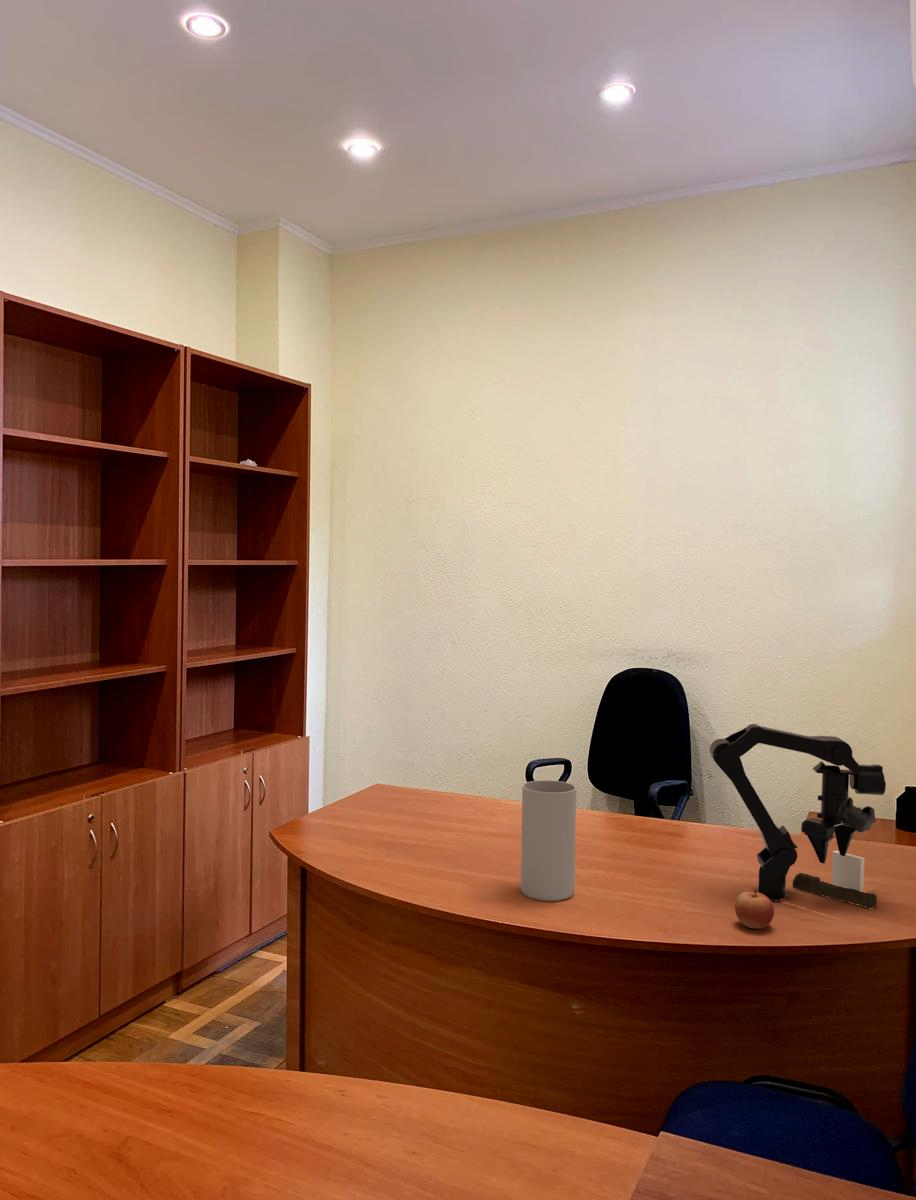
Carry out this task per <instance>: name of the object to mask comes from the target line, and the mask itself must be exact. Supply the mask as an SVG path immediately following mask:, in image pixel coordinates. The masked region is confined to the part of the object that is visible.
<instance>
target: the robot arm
mask: <svg viewBox="0 0 916 1200" xmlns="http://www.w3.org/2000/svg"><path fill="white" fill-rule="evenodd" d="M758 744H762V745H767V746H770V747H774V748H775V747H776V748H779V749H780V748H781V749H786V750H789V751H795V752H799V753H804V754H808V755H811V756H813V757H815V758H817V759H820V760H821V761H819V762H818V763H817V764H816V765H815V766H813V767H812V770H813V771H814V772H815V773H816V774H821V794H820V795H819V794H818V795H817V801H821V804H820V806H821V807H820V812H817V814H816V817H811V818H807V819H805V820H804V821H802V822H801V828H800V831H801V832H802V833H804V835H805V836H807V839H808V840H809V842H810V844H811V846H812V848H813V851H814V852H815V855H816V858H817V859H818V861H819V863H820V864H823V865H824V864H826V860H827V857H828V856H827V855H828V849H829V848H828V847H829V843H830V842H831V841H832V840H833V839H834V838H835V840H836V845H837V848H838V851H839V853H840V855H841V856H845V855H846V853H848V850H849V847H850V844H851V841H852V839H853V836H854V834H855V833H857V832H858V833H864V832H866V831H870V828H871V826H872V824H874V823H876V815H875V814H876V813H875V808H873V807H872V806H869V805H868V806H864V807H863V808H862V807H860V806H859V807H857V806H855V805H854V800H853V797H851V796H849V788H850V789H851V790H854V793H855V794H856V795H857V794H858V795H872V796H873V795H875V796H883V795H885V792H886V785H887V782H886V780H885V774H884V772H883V771H884V768H883V766H882V765H880V764H859V762H857V760H856V759H855V758H854V756H853V750H852V747H851V745H850V744H849V743H847V742H846V741H844V740H843V739H841V738H840V737H837V736H834V735H833V736H832V735H831V736H830V735H829V736H827V735H816V736H814V735H812V736H810V735H803V734H799V733H794V732H789V731H784V730H779V729H775V728H770V727H766V726H761V725H759V724H757V723H752V724H748V725H747V726H746V727H744V728H743V729H740V730H739V731H736V732H733V733H732V734H730V735H728V736H727V737H725V738H717V739H715V740H714V741H713V742H712V743H711V745H710V747H709V754H710V757H711V758H712V760H713V761H714V763H715V764H716V765H717V767H719V768H720V769H721V771H722V772H723V773H724V774H725V775H726V777H727V778H728V779H729V780H730V782H731V783H732V784H733V786H734V788H735V790H736V791H737V793H738V795H739V797H740V798H741V800H742V801H743V803H744V805H745V807H746V808H747V810H748V812H749V814H750V815H751V816H752V819H753V820H754V822H755V823H756V825H757V827H758V828H759V832H760V834H761V837H762V841H763V843H764V846H765V847H763V848H762V849H761V850H760V852H758V853H757V854H756V858H757V860H758V864H760V867H759V869H758V888H757V890H756V892H758V893H761V894H763V895H765V896H767V897H768V898H769V899H773V900H779V899H781V900H782V899H784V898H786V897H790V896H791V895H792V894H791V893H789V892H786V889H787V888H786V885H787V884H786V881H787V875H788V873H789V871H790V868H791V867H792V866H794V865H795V864H796V862H797V859H798V858H799V857H798V855H799V854H798V852H797V849H798V846H797V844H796V842H794V840H793V839H792V838H791V837H792V836H791V835H790V833H789V831H788V830H787V828H786V827H785V825H782V826H780V827H778V826H777V824H775V822H774V820H773V818H772V817H771V815H770V814H769V812H768V810H767V808H766V806H765V805H764V803H763V802H762V800H761V798H760V797H759V795H758V793H757V792H756V790H755V787H753V784H752V783H751V781H750V779H749V778H748V776H747V774H746V771H745V767H744V766H743V762H742V759H741V757H742V756H744V755H745V754H747V753H748V752H749V751H750V750H752V749H753V748H754V747H755V746H756V745H758ZM823 761H825V762H826V763H830V764H832V765H829V764H825V763H824V762H823ZM840 766H841V767H842V766H844V767H845V768H846V769H843V768H842V769H840ZM834 835H835V836H834ZM752 892H755V891H754V890H753V891H752ZM773 900H772V901H773Z"/></svg>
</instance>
